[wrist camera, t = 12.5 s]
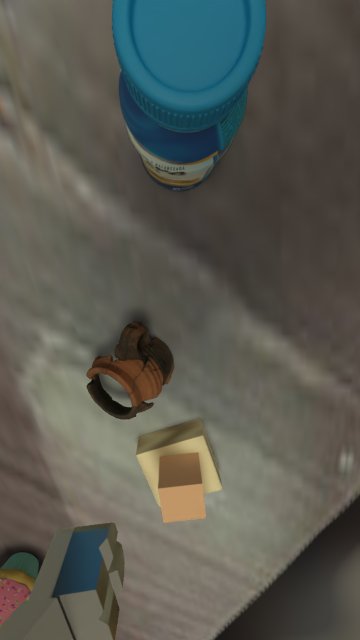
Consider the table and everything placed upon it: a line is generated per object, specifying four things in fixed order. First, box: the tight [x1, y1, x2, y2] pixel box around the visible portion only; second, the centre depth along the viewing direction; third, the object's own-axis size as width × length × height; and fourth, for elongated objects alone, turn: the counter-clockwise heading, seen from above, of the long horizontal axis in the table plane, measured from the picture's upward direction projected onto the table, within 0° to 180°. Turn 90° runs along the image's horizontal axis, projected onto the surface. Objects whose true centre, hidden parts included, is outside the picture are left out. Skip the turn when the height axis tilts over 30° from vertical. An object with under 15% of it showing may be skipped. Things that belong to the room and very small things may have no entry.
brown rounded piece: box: [87, 322, 174, 419], centre depth 36 cm, size 12×10×8 cm
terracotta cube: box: [158, 452, 206, 523], centre depth 36 cm, size 5×5×5 cm
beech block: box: [136, 418, 222, 507], centre depth 41 cm, size 9×9×4 cm
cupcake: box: [0, 552, 39, 626], centre depth 41 cm, size 9×8×12 cm
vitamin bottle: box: [112, 0, 266, 191], centre depth 22 cm, size 8×8×20 cm
